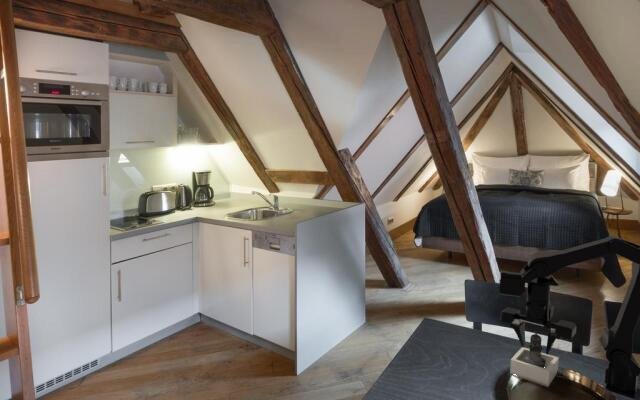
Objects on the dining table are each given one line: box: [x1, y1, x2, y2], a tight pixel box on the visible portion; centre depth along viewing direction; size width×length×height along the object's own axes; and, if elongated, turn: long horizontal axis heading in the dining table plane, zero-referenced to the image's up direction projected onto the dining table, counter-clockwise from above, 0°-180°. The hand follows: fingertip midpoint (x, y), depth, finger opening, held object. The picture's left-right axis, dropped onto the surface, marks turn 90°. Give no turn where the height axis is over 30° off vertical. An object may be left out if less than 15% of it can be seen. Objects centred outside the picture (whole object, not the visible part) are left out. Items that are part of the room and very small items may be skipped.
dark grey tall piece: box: [524, 331, 546, 368], centre depth 123 cm, size 6×6×12 cm
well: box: [509, 346, 560, 388], centre depth 124 cm, size 10×10×4 cm
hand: (535, 350), depth 123 cm, fingers open, 6 cm apart
